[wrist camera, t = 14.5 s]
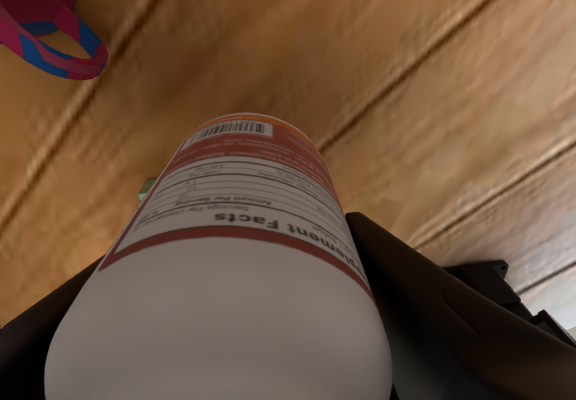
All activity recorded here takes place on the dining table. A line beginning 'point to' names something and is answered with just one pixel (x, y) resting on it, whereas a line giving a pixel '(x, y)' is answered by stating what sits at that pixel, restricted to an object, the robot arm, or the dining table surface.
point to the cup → (44, 21)
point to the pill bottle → (228, 284)
